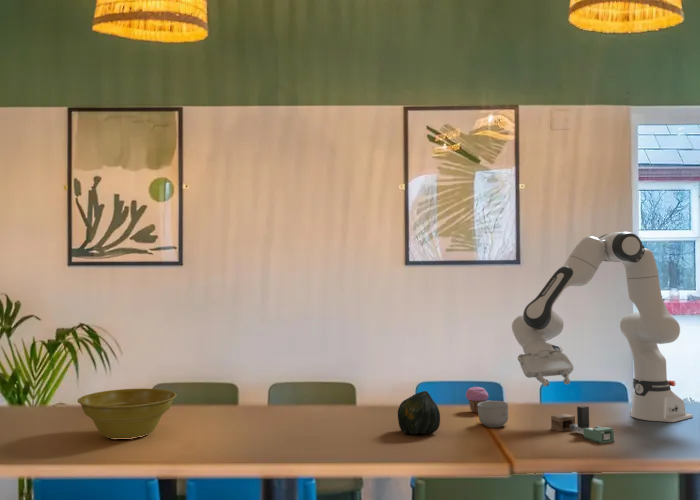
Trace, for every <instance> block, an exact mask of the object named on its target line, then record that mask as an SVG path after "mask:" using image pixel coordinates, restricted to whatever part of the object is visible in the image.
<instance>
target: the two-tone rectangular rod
mask: <svg viewBox="0 0 700 500" xmlns="http://www.w3.org/2000/svg"><path fill="white" fill-rule="evenodd" d="M576 412H577V413H576V414H577V417H576V419H577V423H575V424H571V425H570V430H569V431H572V432H576V433H580V434H583V435H584V428H589V429H592V430H593V429H594V428H593V427H590V407H589V406H586V405H578V406H576ZM608 439H610V433H607V432H602V440H608Z"/></svg>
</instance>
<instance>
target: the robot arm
mask: <svg viewBox="0 0 700 500" xmlns="http://www.w3.org/2000/svg"><path fill="white" fill-rule="evenodd" d="M602 262H613V263H620V262H621V263H622V264H623V266H624V269H625V275H626V276H625V277H626V284H627V292H628V293H627V294H628V298H629V300H630V301H631V302H632V303H633V305H635V308H636V309H637V312H631V313H628V314H626V315H624V316H623V317H622V318H621V320H620V324H619V327H620V332H621V334H623V336H624V337H625V338H626V340H627V341H628V345H629V347H630V350H631V354H632V358H633V359H632V360H633V375H634V378H633V379H632V387H633V389H634V390H633V392H632V401H631V402H632V404H631V409H630V417H632V418H635V419H639V420H642V421H649V422H650V421H651V422H665V423H675V422H679V421H683V420H688V419H691V418H693V414H692V413H690V412H686V405H685V402H684V400H683V399H682V398H681V397H679V396H678V395H677V394H676V393H674V392H673V391H672V389H671V387H675V386H677V385H676V381H675V380H668V378H667V377H668V375H667V359H666V358H665V356H664V355H663V354H662V352H661V351H660V349H659V346H658V345H663V344H664V345H666V344H671V343H673V342H675V341H676V340H677V339H678V338H679V336H680V334H681V326H680V323H679V322H678V320H677V319H676V318H674V317H673V316H672V314H671V313H670V312H669V310H668V308H667V306H666V303H665V301H664V299H663V296H662V290H661V285H660V277H659V271H658V266H657V262H656V259H655V256H654V253H653V251H652V250H651V249H649V248H647V247H646V248H645V246H644V244H643V242H642V240H641V238H640V237H639V236H638V235H637V234H635V233H633V232H629V231H616V232H611V233H607V234H606V233H605V234H604V235H601V236H599V237H596V236H592V235H591V236H590V235H589V236H584V237H583V238H582V239H581V240H580V241H579V242H578V243H577V245H576V246H575V248H573V250H572V252H570V255H569V256H568V257H567V260H566V261H565V262H564V263H563V265H562V266H561V267H559V268H558V269H557V270H556V271H555V272H554V273H553V275H552V276H551V277H550V278H549V280H548V281H547V282H546V283H545V285H544V287H543V288H542V289H541V291H540V292H539V293H538V295H537V296H536V297H535V298H534V299H532V301H530V302H529V303H528V304H527V305H526V306H525V308H524V310H523V314H521V315H518V316H517V317H516V318H515V319H514V320H513V321H512V324H511V330H512V333H513V335H514V337H515V340H516V341H517V343H518V344H519V346H521V348H522V351H523V353H522V354H519V355H518V356H517V360H518V362H519V365H520V368H521V370H522V372H523V374H524V376H525V377H527V378H528V379H529V378H535V379H536V380H537V381H538V382H539V383H542V386H543V387H548V386H549V385H550V382H549V380H548V379H546V378H545V377H554V376H561V378H563V380H562V382H563V383H564V384H565V385H570V383H571V380H570V378H569V377H570V375H571V373H572V372H573V370H574V365H573V363H572V361H571V360H570V359H569V357H568V356H567V354H565V352H563V348H562V347H561V346H559V345H556V344H552V343H548V342H547V341H549V340H552V339H554V338H555V337H557V336H559V335H560V334H561V333H562V331H563V329H564V321H563V319H562V318H561V316H559V315H558V314H557V313H556V312H555V311H554V310H553V306H554V305H555V303H556V301H557V300H558V299H559V297H560V296H561V295H562V294H563V292H564V291H565V289H567V288H568V287H582V286H585V285H587V284H588V283H589V282H590V281H591V280H592V279H593V278H594V276H595V274H596V273H597V271H598V269H599V267H600V265H601V264H602Z"/></svg>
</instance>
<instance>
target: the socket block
mask: <svg viewBox="0 0 700 500" xmlns="http://www.w3.org/2000/svg"><path fill="white" fill-rule="evenodd" d="M550 418H551V419H550V421H551V423H550V424H551V425H550V427H551V429H552V430H554V431H558V432H564V430H565V431H571V430H570V425H571V424H576V416H575V415H573V414H569V413H564V414H563V413H562V414H555V415H551V416H550Z"/></svg>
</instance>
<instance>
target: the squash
mask: <svg viewBox="0 0 700 500" xmlns="http://www.w3.org/2000/svg"><path fill="white" fill-rule="evenodd" d="M440 413H441V412H440V409H439V406H438V405H437V403H436V402H435V401H434V398H432V396H431V394H430V393H429V392H428V391H427V390H426V391H425V390H424V391H420V392H417V393H415V394H413V395H410V397H408V398H406V399H404V400H403V401H402V402H401V403H400V405H399V407H398V409H397V420H398V426H399V429H400V431H402V433H404V434H406V435H412V436H413V435H417V434H428V433H430V434H434V433H435V432H437V431H438V429H439V427H440V424H441V414H440Z"/></svg>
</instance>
